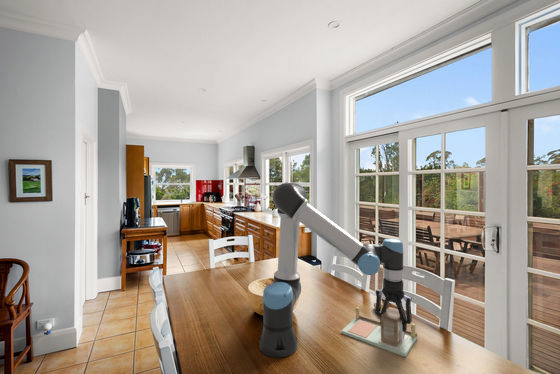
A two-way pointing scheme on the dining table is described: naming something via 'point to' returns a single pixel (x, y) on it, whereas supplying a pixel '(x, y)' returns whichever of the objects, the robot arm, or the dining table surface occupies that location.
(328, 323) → the dining table surface
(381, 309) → the stone
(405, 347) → the ledge board
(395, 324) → the frame block
